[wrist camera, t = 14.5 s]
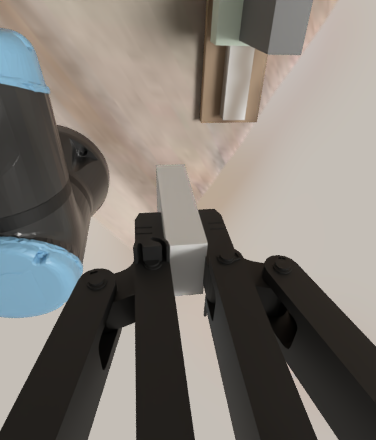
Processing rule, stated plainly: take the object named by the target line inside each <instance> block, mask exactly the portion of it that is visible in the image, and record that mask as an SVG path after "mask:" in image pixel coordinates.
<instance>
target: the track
mask: <svg viewBox="0 0 376 440" xmlns="http://www.w3.org/2000/svg"><path fill="white" fill-rule="evenodd" d="M212 10H213V0H207V1H206V18H205V35H204V52H203V69H202V86H201V103H200V121H201V123H226V122H257V117H258V111H259V105H260V99H261V93H262V87H263V81H264V75H265V68H266V62H267V56H268V54H265V53H263V52H261V51H259V50H257V49H255V48H253V47H251V46H223V45H215V44H213V43H212V42H210V39H211V25H212Z"/></svg>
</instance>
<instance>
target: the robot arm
mask: <svg viewBox="0 0 376 440" xmlns="http://www.w3.org/2000/svg"><path fill="white" fill-rule="evenodd" d="M49 93H50V89H49V87H48V86H46V84H45V81H44V78H43V75H42V71H41V68H40V65H39V62H38V58H37V55H36V52H35V50H34V47H33V46H32V44H31V43H30V42H29V41H28V40H27V39H26V38H25V37H24V36H23V35H21V34H20V33H18V32H16V31H14V30H10V29H5V28H0V317H8V318H24V317H32V316H38V315H42V314H46V313H49V312H51V311H53V310H56V309H58V308H59V307H61V306H62V305H63V303H65V302H67V303H66V305H65V307H64V308H63V311H62V312H61V314H60V316H59V318H58V320H57V322H56V324H55V326H54V328H53V330H52V332H51V334H50V336H49V338H48V339H47V341H46V343H45V345H44V348H43V349H42V351H41V353H40V355H39V357H38V359H37V361H36V363H35V365H34V367H33V369H32V370H31V372H30V375H29V376H28V379H27V380H26V382H25V384H24V386H23V388H22V390H21V392H20V394H19V396H18V398H17V400H16V402H15V403H14V405H13V407H12V409H11V411H10V413H9V415H8V417H7V419H6V421H5V423H4V425H3V427H2V429H1V431H0V440H88V436H89V433H90V430H91V427H92V424H93V421H94V417H95V414H96V411H97V408H98V405H99V401H100V398H101V395H102V392H103V388H104V385H105V382H106V379H107V375H108V372H109V369H110V366H111V363H112V359H113V356H114V353H115V350H116V347H117V343H118V340H119V337H120V334H121V330H122V327H124V326H127V325H129V324H132V323H135V344H136V345H135V348H136V349H135V351H136V353H135V354H136V355H135V356H136V440H195V438H194V432H193V431H194V430H193V424H192V416H191V410H190V402H189V396H188V388H187V381H186V374H185V367H184V359H183V352H182V345H181V338H180V330H179V324H178V316H177V309H176V302H175V296H182V295H193V294H203V288H205V293H206V297H205V306H204V316H207V315H208V319H209V324H210V328H211V332H212V337H213V341H214V345H215V350H216V355H217V359H218V364H219V368H220V372H221V377H222V381H223V385H224V390H225V394H226V399H227V403H228V408H229V412H230V417H231V421H232V426H233V430H234V434H235V439H236V440H317V437H316V435H315V432H314V430H313V428H312V425H311V423H310V420H309V418H308V415H307V413H306V410H305V408H304V405H303V403H302V400H301V398H300V395H299V393H298V390H297V388H296V386H295V383H294V381H293V378H292V376H291V373H290V371H289V368H288V366H287V364H288V365H289V367H290V368H291V370H292V371H293V373H294V374H295V376H296V377H297V379H298V380H299V381H300V383H301V384H302V386H303V388H304V389H305V390H306V392H307V393H308V395H309V396H310V398H311V399H312V401H313V402H314V404H315V405H316V407H317V408H318V410H319V411H320V413H321V414H322V416H323V417H324V418H325V420H326V422H327V423H328V424H329V426H330V428H331V429H332V430H333V432H334V433H335V435H336V436H337V438H338V439H339V440H376V346H375V345H374V344H373V343H372V342H371V341H370V340H369V339H368V338H367V337H366V336H365V335H364V334H363V333H362V332H361V331H360V329H359V328H358V327H357V326H356V325H355V324H354V323H353V322H352V321H351V320H350V319H349V318H348V317H347V316H346V315H345V314H344V313H343V312H342V311H341V309H340V308H339V307H338V306H337V305H336V304H335V303H334V302H333V301H332V300H331V299H330V298H329V297H328V296H327V295H326V294H325V293H324V292H323V291H322V290H321V288H320V287H319V286H318V285H317V284H316V283H315V282H314V281H313V280H312V279H311V278H310V277H309V276H308V275H307V274H306V273H305V272H304V271H303V269H302V268H301V267H300V266H299V265H298V264H297V263H296V262H294V261H293V260H292V259H290V258H288V257H285V256H280V255H276V256H271V257H269V258H267V259H266V261H265V263H259V262H253V261H249V260H246V259H244V258H243V256H242V255H241V253H240V252H238V251H237V250H235V249H234V247H233V244H232V242H231V239H230V237H229V234H228V232H227V229H226V226H225V224H224V221H223V219H222V216H221V214H219V213H218V212H217V211H216V210H215V209H203V210H198V209H197V205H196V202H195V198H194V195H193V192H192V188H191V185H190V181H189V178H188V175H187V171H186V168H185V164H180V165H156V176H157V211H158V212H156V213H139V215H138V216H137V218H136V219H135V243H134V247H133V252H134V262H133V264H132V265H131V266H130V267H129V268H127V269H126V270H123V271H121V272H118V273H115V274H114V273H112V272H111V271H109V270H106V269H93V270H90V271H88V272H86V273H84V274H83V275H82V276H81V274H82V272H83V265H82V264H83V258H84V252H85V247H86V241H87V235H88V229H89V224H90V218H91V217H92V216H93V214H94V213H95V212H96V211H97V210H98V209H99V208H100V207H101V206H102V204H103V202H104V200H105V198H106V196H107V193H108V187H109V169H108V166H107V163H106V160H105V158H104V156H103V155H102V153H101V152H100V150H99V149H98V148H97V147H96V146H95V145H94V143H92V142H91V141H90V140H89V139H88V138H86V137H85V136H83V135H82V134H80V133H78V132H76V131H74V130H72V129H69V128H66V127H63V126H58V125H56V121H55V118H54V114H53V110H52V106H51V102H50V98H49ZM286 362H287V363H286Z"/></svg>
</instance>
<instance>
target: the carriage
mask: <svg viewBox="0 0 376 440" xmlns="http://www.w3.org/2000/svg"><path fill="white" fill-rule="evenodd" d="M312 3H313V0H213V10H212V25H211V39H210V42H212V43H213V44H215V45H223V46H251V47H253V48H255V49H257V50H259V51H261V52H263V53H265V54H268V55H301V53H302V48H303V44H304V39H305V34H306V30H307V25H308V21H309V16H310V12H311V7H312Z"/></svg>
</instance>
